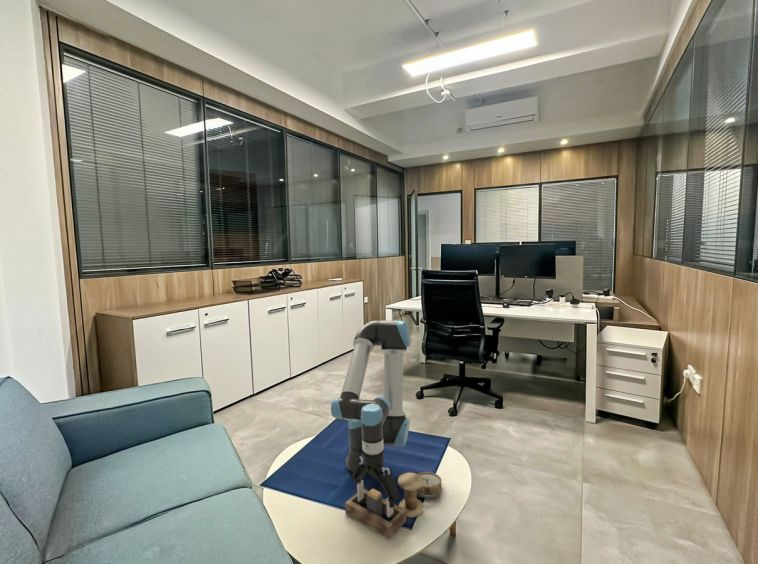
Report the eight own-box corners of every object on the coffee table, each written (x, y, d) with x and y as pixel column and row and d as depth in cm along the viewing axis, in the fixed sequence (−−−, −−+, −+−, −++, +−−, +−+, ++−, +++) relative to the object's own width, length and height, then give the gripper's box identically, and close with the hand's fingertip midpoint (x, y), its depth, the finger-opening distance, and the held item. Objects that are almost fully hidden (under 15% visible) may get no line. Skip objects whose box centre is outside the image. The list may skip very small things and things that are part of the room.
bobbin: (394, 510, 132) (393, 481, 131) (407, 497, 139) (407, 469, 138) (414, 521, 126) (413, 491, 125) (428, 506, 133) (427, 478, 132)
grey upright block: (374, 511, 132) (373, 487, 131) (383, 516, 129) (382, 491, 128) (367, 517, 128) (366, 493, 128) (375, 522, 126) (374, 497, 125)
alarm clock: (440, 472, 149) (442, 489, 134) (441, 484, 149) (442, 503, 134) (413, 470, 151) (412, 487, 136) (413, 483, 150) (412, 501, 135)
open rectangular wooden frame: (345, 513, 131) (345, 502, 131) (363, 498, 139) (363, 488, 139) (389, 538, 119) (388, 527, 118) (406, 520, 126) (406, 509, 126)
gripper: (340, 443, 132) (342, 498, 133) (395, 467, 116) (397, 529, 118) (354, 435, 138) (356, 488, 139) (408, 456, 122) (410, 515, 124)
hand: (375, 507), depth 129 cm, fingers open, 13 cm apart
